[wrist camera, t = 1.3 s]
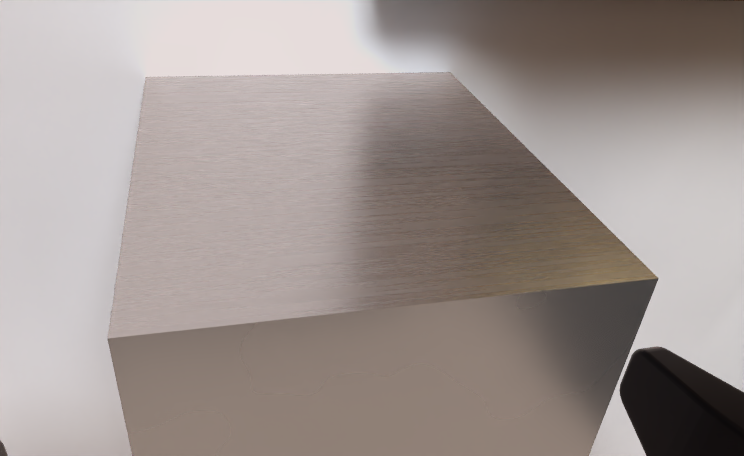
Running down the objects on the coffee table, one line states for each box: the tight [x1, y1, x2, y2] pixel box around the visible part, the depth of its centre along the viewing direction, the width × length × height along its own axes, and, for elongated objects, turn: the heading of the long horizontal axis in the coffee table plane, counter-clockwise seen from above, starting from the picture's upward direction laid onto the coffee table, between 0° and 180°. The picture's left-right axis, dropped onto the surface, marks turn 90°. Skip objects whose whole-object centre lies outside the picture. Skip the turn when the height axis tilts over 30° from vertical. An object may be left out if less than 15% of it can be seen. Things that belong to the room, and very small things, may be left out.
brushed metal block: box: [108, 72, 658, 456], centre depth 10 cm, size 5×7×6 cm
